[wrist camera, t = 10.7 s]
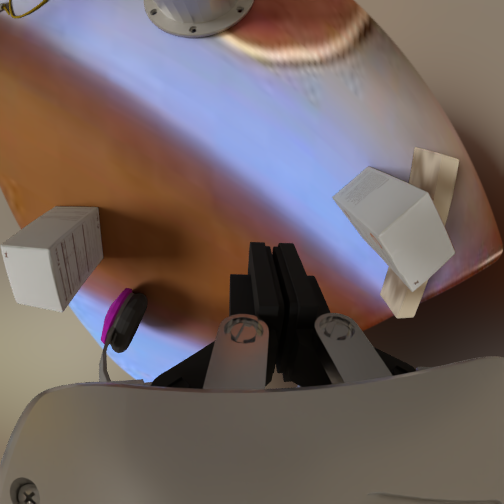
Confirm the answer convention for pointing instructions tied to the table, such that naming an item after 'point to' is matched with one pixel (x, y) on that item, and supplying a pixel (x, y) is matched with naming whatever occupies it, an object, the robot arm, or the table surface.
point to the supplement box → (53, 256)
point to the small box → (397, 224)
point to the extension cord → (3, 6)
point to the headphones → (121, 325)
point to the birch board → (440, 190)
